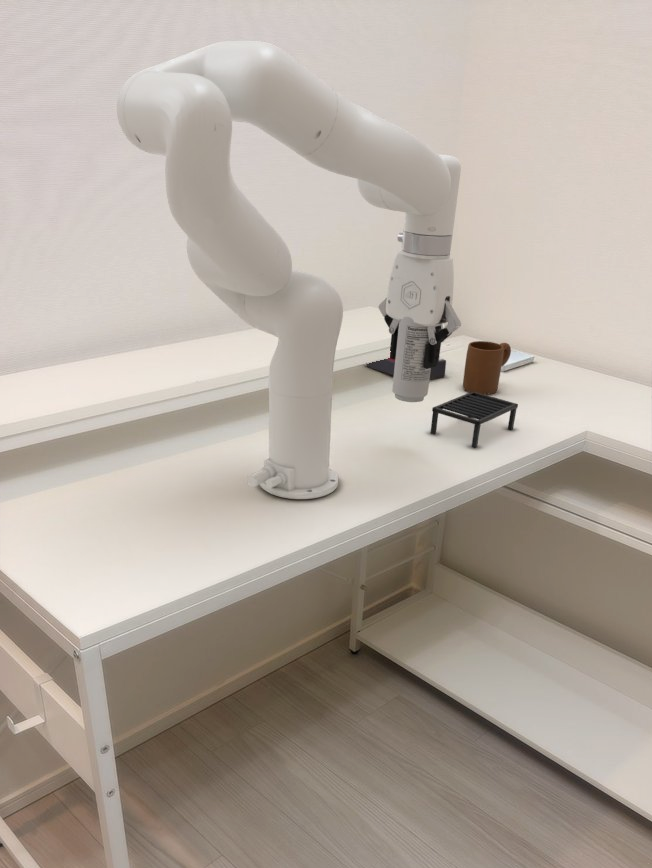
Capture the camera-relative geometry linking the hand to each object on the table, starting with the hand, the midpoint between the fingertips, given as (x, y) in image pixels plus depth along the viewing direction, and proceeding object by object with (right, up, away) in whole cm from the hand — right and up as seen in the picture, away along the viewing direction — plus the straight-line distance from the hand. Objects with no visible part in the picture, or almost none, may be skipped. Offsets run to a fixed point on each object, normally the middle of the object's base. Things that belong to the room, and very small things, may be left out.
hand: (413, 361), depth 133 cm
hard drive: (+27, +17, +58) cm, 67 cm away
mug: (+20, +6, +41) cm, 46 cm away
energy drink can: (0, -5, +3) cm, 6 cm away
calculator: (+3, +12, +49) cm, 50 cm away
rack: (+13, -8, +19) cm, 24 cm away
